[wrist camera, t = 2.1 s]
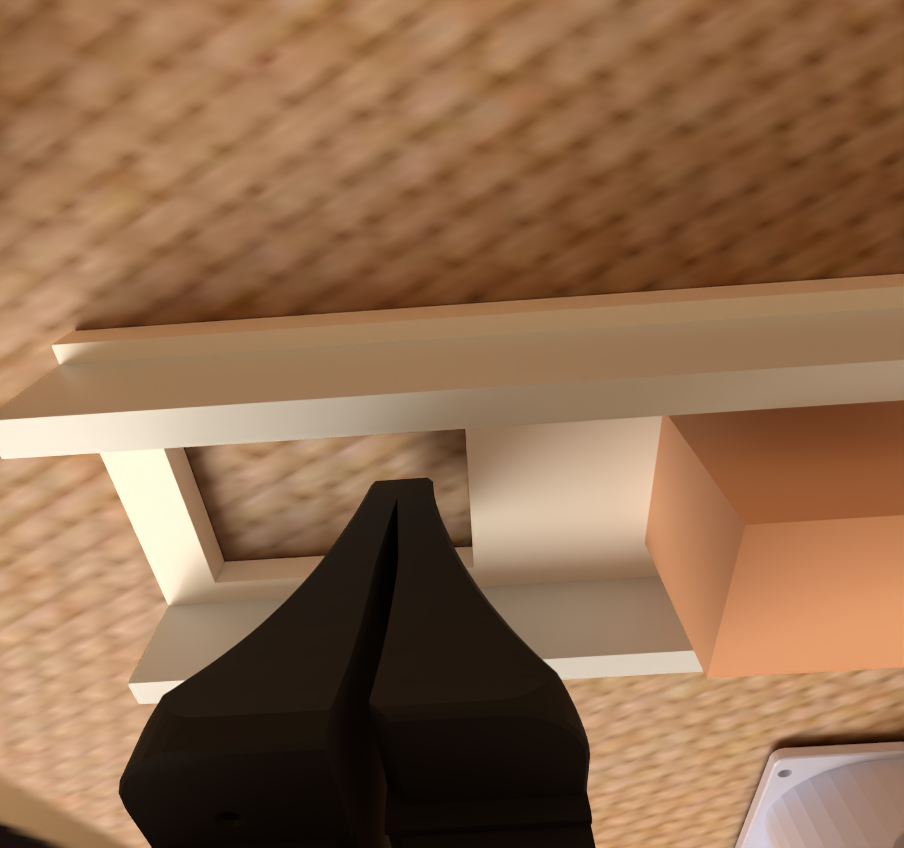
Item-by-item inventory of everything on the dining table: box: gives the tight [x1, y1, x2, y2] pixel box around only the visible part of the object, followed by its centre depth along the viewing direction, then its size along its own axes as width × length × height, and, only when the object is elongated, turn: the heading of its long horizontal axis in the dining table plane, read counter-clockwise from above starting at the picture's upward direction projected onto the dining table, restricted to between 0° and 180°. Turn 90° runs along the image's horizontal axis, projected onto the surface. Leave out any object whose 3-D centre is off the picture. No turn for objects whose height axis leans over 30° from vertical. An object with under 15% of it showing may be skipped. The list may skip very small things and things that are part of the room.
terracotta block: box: [645, 400, 904, 678], centre depth 12 cm, size 4×6×4 cm, turn 94°
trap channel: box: [0, 274, 904, 704], centre depth 13 cm, size 9×25×3 cm, turn 94°
